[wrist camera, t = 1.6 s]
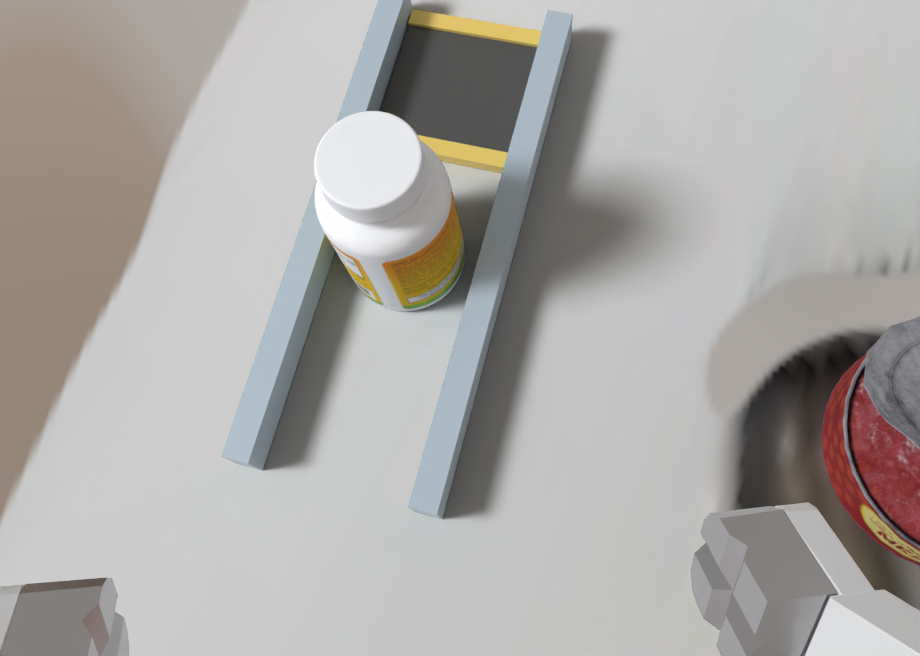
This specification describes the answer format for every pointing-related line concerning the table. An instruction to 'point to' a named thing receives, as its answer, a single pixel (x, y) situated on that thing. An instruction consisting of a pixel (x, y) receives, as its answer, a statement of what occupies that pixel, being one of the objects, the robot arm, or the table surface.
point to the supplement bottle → (388, 211)
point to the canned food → (879, 440)
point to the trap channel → (453, 140)
